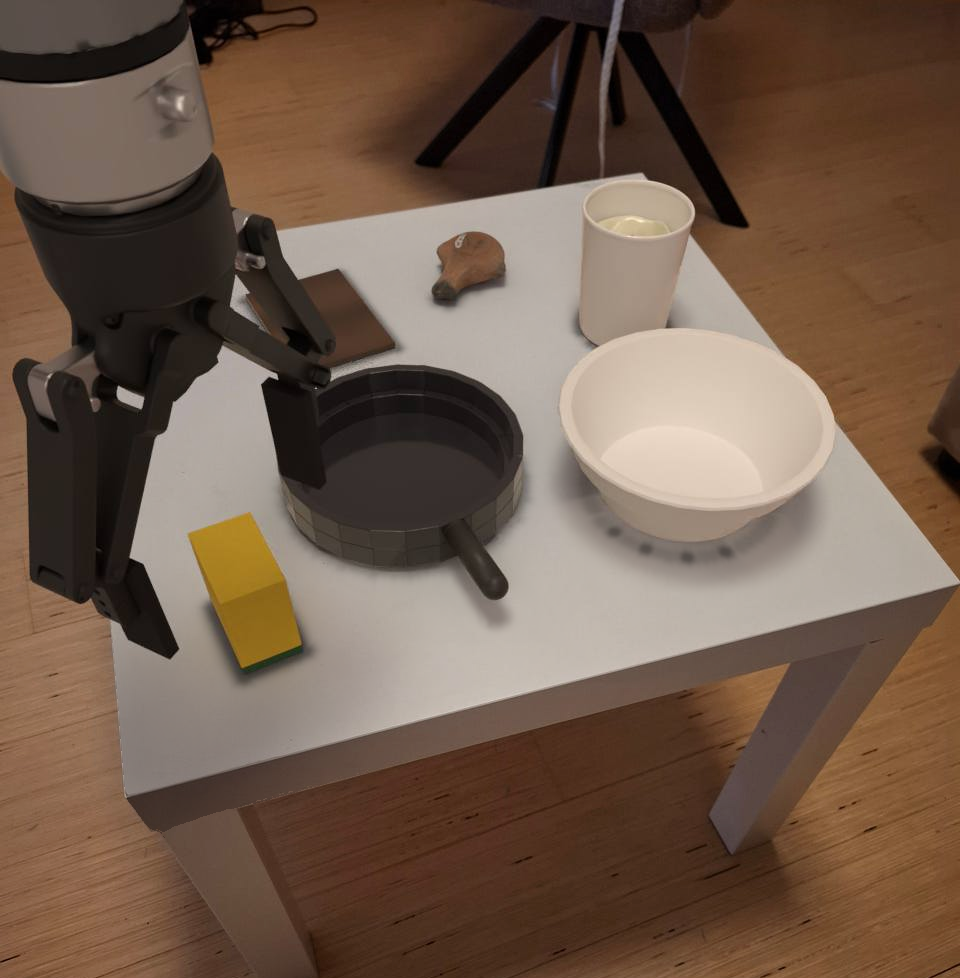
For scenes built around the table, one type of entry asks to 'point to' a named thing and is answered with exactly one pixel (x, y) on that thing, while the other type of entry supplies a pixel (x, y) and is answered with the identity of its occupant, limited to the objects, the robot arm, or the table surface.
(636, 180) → the candle holder
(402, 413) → the pan
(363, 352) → the brown flat slab
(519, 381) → the table surface
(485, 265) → the oil lamp
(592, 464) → the bowl
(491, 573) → the pan handle
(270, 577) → the sponge
